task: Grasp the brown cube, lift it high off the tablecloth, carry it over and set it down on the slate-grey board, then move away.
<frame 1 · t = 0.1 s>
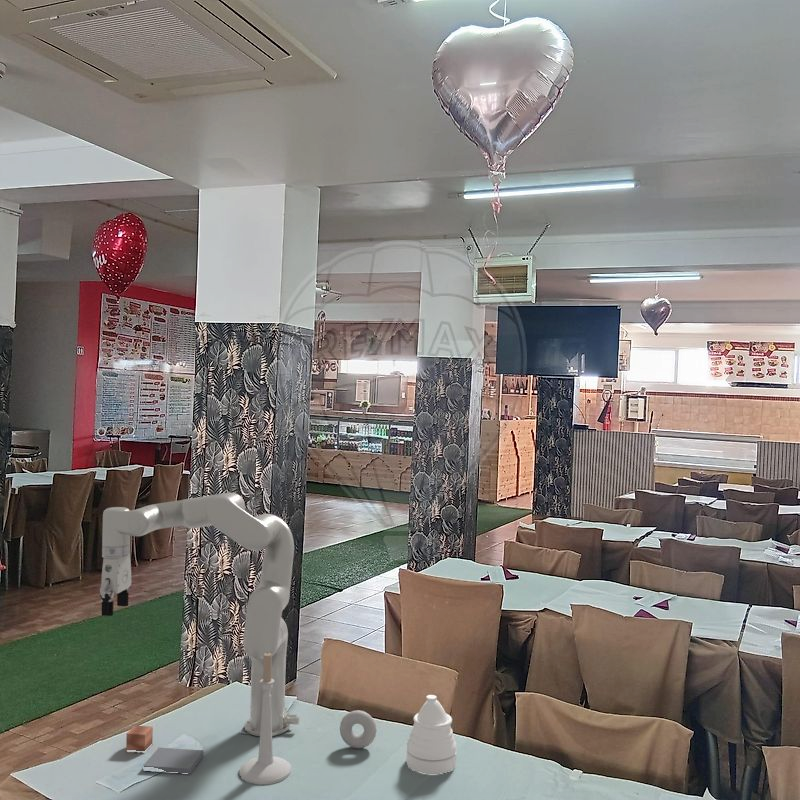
hand: (115, 610, 227), 31 cm above the table, tool pointing down, fingers open, 9 cm apart
slate board: (173, 763, 201), on the table
candlestick: (265, 772, 198), on the table
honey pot: (431, 764, 204), on the table
donut: (357, 748, 212), on the table
brown cube: (139, 748, 209), on the table
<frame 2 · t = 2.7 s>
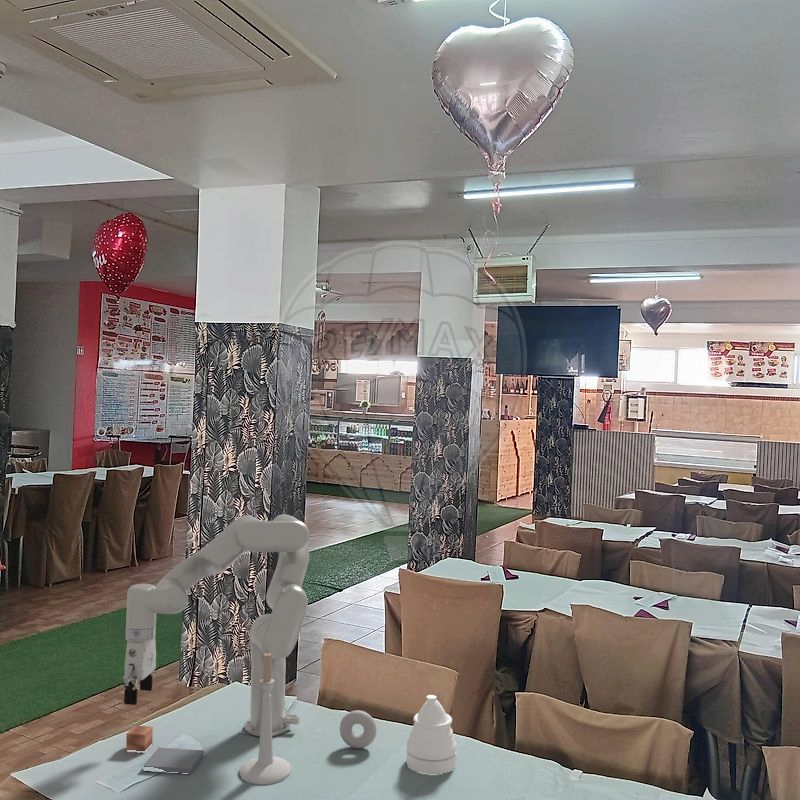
hand: (138, 697, 209), 14 cm above the table, tool pointing down, fingers open, 9 cm apart
nothing on the table moved.
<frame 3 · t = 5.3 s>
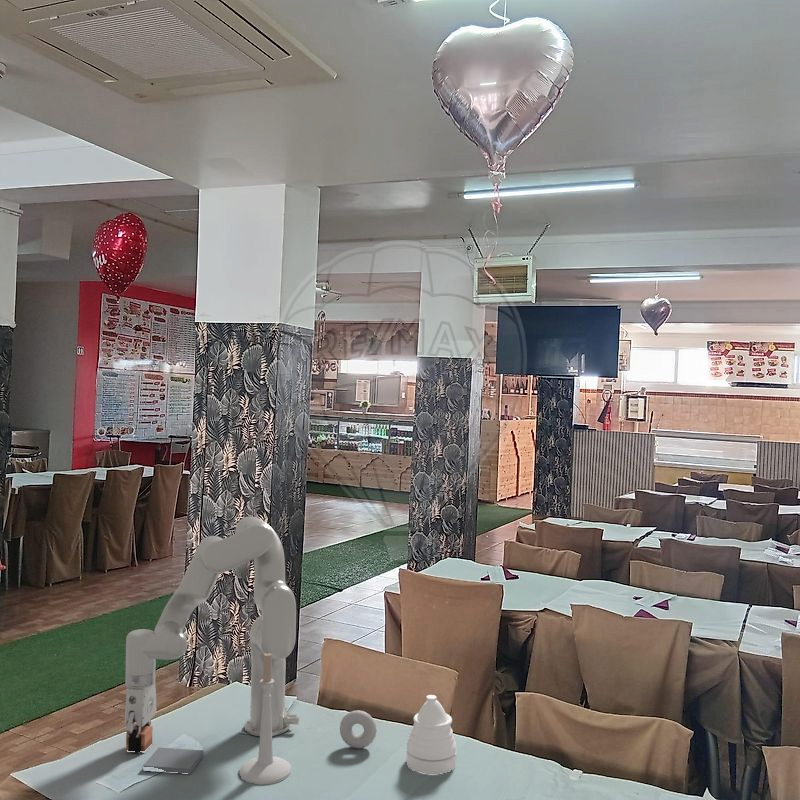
hand: (139, 745, 209), 1 cm above the table, tool pointing down, fingers closed on brown cube, 5 cm apart
brown cube: (139, 748, 209), on the table, touching gripper
everything else where it was.
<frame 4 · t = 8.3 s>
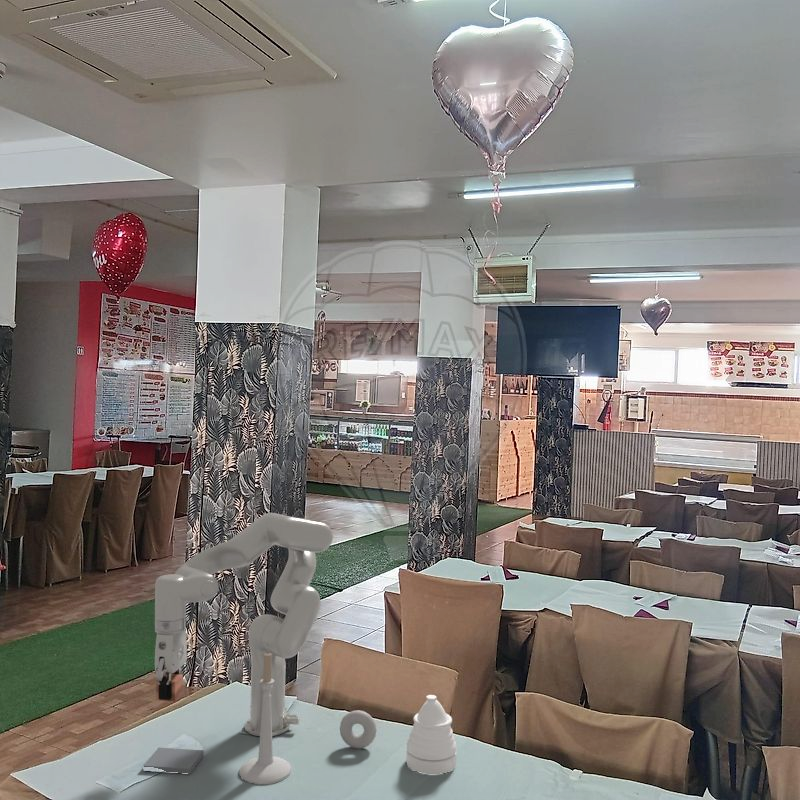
hand: (169, 694, 202), 17 cm above the table, tool pointing down, fingers closed on brown cube, 5 cm apart
brown cube: (169, 696, 202), point 16 cm above the table, touching gripper
everything else where it was.
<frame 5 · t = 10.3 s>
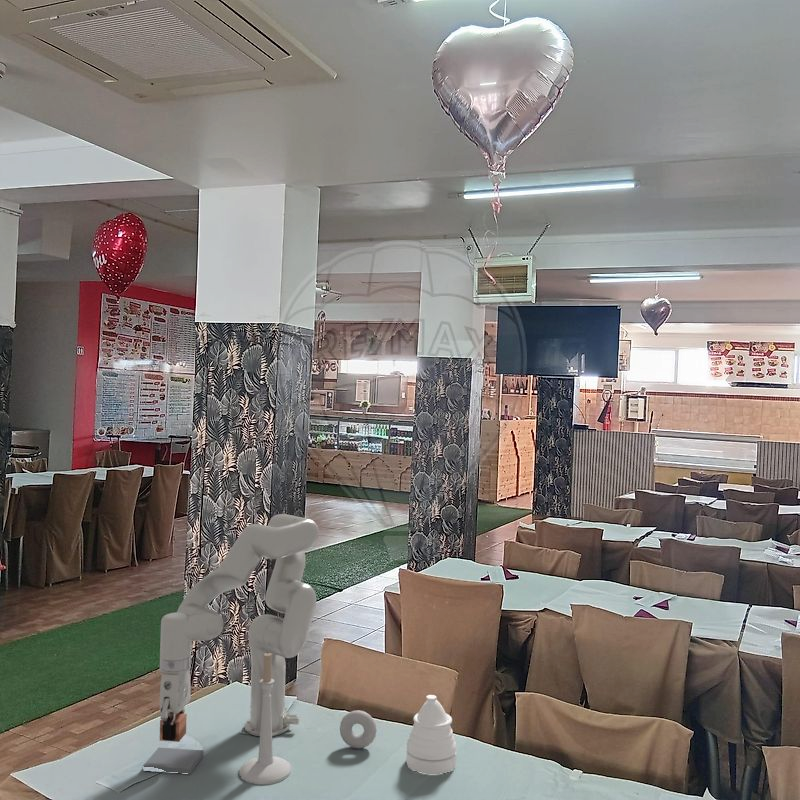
hand: (173, 734, 201), 8 cm above the table, tool pointing down, fingers closed on brown cube, 5 cm apart
brown cube: (172, 736, 201), point 7 cm above the table, touching gripper
everything else where it was.
when the fingers open (4 cm above the table, at t = 11.8 s): brown cube drops 2 cm, resting on slate board.
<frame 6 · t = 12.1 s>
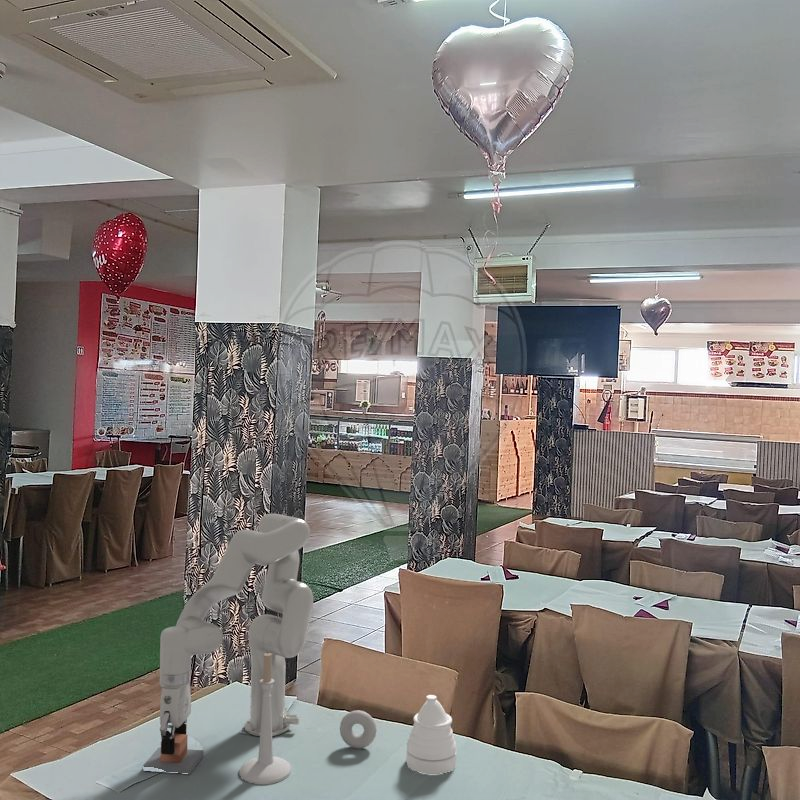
hand: (174, 745, 201), 5 cm above the table, tool pointing down, fingers open, 7 cm apart
brown cube: (174, 757, 201), point 1 cm above the table, touching slate board
everything else where it was.
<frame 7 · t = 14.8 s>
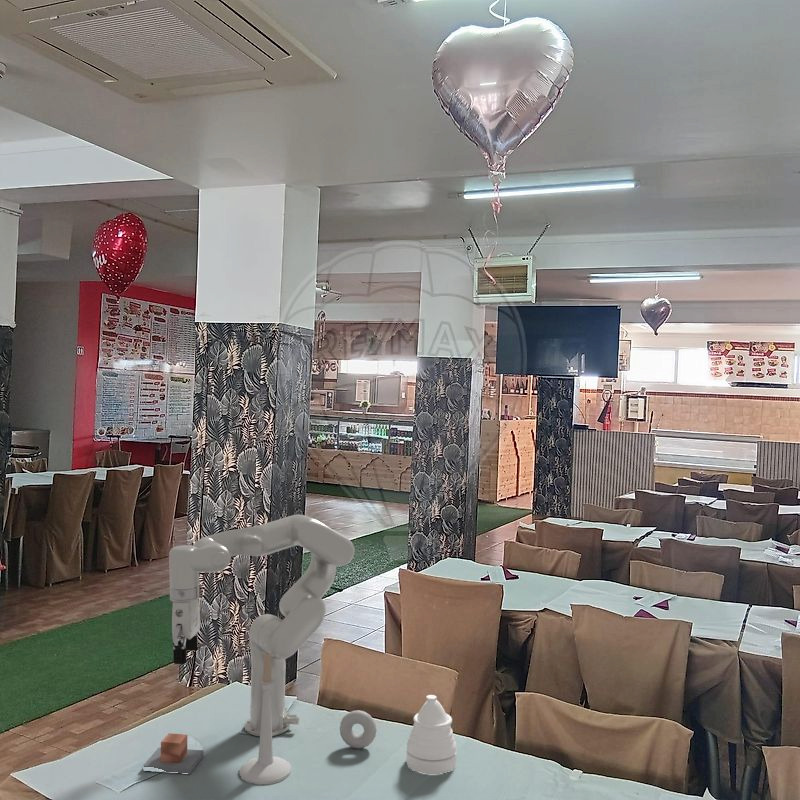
hand: (186, 656, 210), 24 cm above the table, tool pointing down, fingers open, 9 cm apart
nothing on the table moved.
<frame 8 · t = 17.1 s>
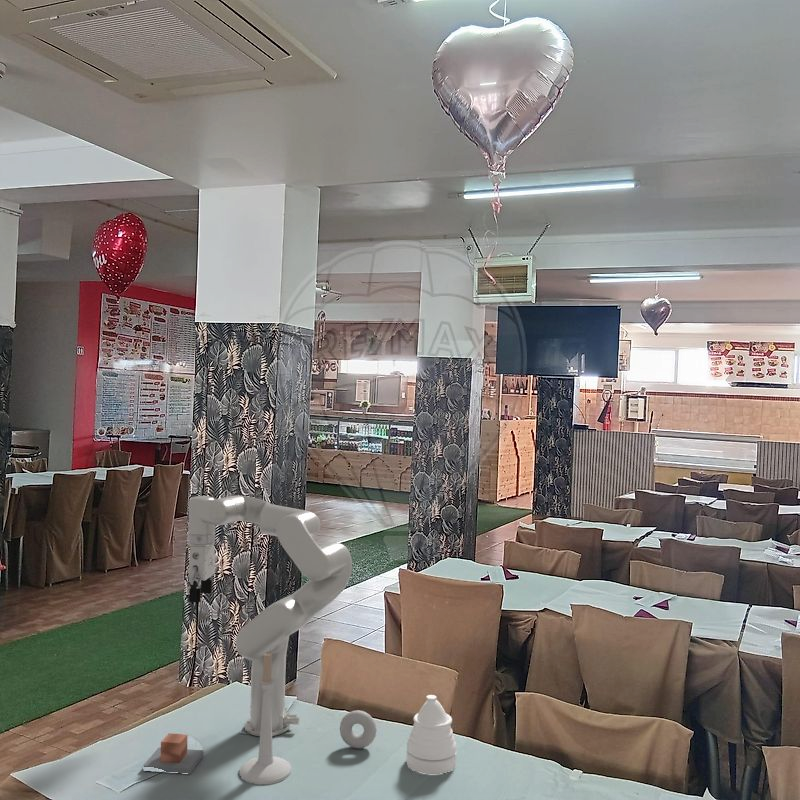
hand: (200, 597, 231), 34 cm above the table, tool pointing down, fingers open, 9 cm apart
nothing on the table moved.
at the end: brown cube inside the target area on the slate board (0.1 cm from its centre), point 1.5 cm above the slate board's base; brown cube tilted 0°; the gripper is holding nothing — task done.
